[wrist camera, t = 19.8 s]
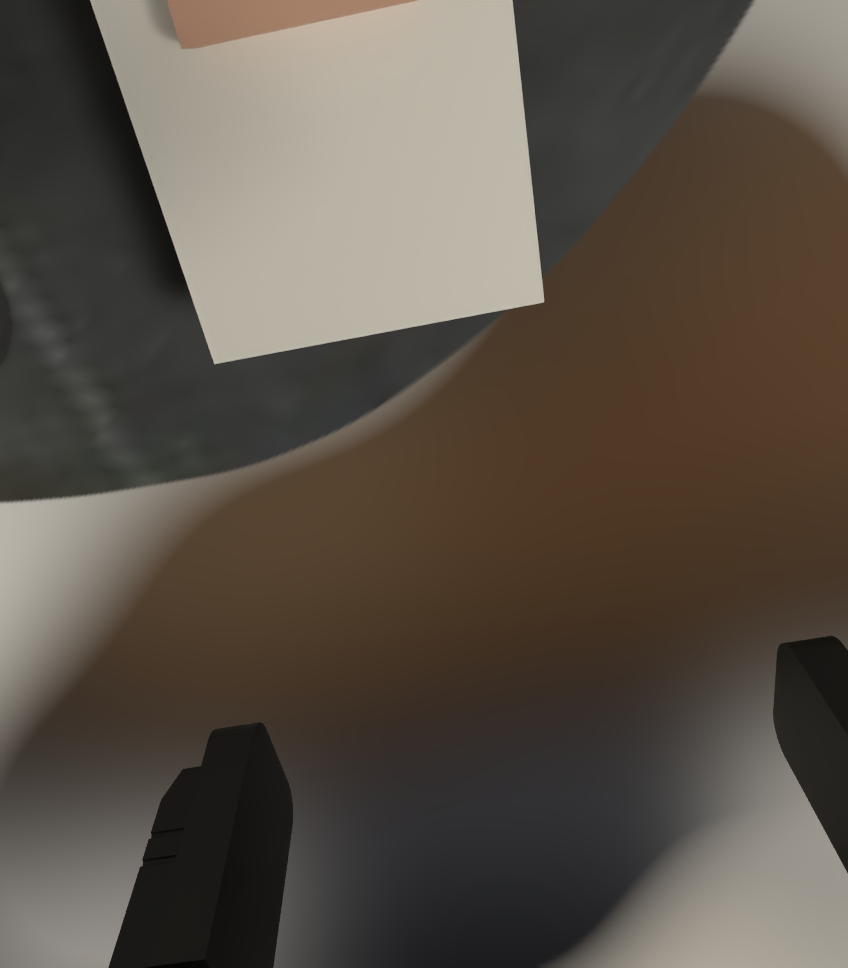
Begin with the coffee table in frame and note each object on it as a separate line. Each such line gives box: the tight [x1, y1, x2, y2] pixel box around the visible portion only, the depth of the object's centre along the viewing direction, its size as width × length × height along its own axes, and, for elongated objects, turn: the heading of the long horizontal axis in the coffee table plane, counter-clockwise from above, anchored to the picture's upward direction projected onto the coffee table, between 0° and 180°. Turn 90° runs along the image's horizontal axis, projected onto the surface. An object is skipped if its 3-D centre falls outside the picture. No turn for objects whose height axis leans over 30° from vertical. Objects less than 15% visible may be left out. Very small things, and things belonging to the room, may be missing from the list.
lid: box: [90, 0, 544, 364], centre depth 28 cm, size 14×14×3 cm
